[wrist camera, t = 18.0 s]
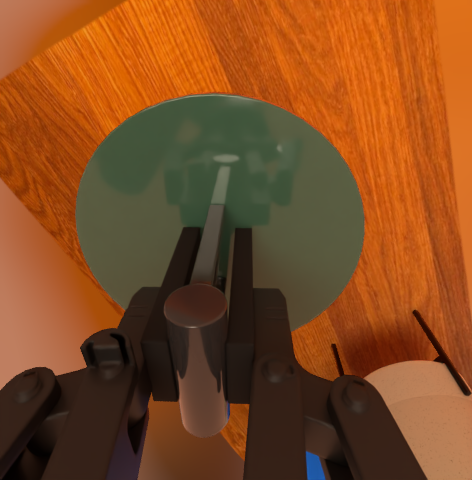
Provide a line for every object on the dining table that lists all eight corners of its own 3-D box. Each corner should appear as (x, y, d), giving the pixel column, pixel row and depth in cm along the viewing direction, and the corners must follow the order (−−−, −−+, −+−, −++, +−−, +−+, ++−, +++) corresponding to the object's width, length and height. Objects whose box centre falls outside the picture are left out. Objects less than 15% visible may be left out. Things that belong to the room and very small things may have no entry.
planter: (359, 384, 57) (417, 558, 38) (319, 333, 51) (363, 510, 31) (444, 355, 52) (562, 537, 33) (412, 294, 46) (533, 475, 26)
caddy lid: (116, 327, 20) (38, 489, 12) (49, 89, 13) (-221, 139, 5) (333, 332, 19) (385, 503, 12) (388, 89, 12) (595, 144, 5)
